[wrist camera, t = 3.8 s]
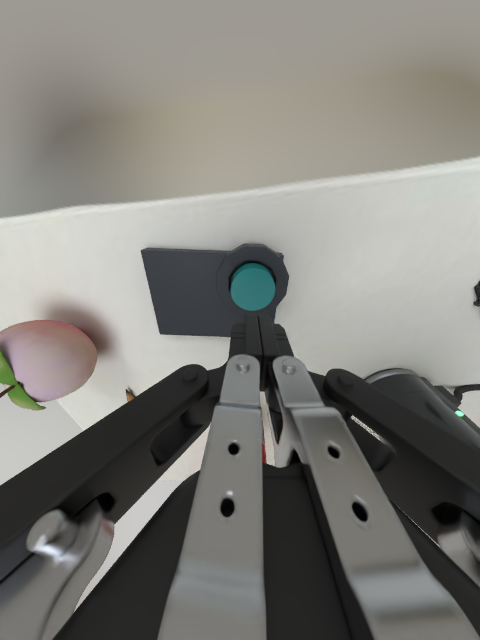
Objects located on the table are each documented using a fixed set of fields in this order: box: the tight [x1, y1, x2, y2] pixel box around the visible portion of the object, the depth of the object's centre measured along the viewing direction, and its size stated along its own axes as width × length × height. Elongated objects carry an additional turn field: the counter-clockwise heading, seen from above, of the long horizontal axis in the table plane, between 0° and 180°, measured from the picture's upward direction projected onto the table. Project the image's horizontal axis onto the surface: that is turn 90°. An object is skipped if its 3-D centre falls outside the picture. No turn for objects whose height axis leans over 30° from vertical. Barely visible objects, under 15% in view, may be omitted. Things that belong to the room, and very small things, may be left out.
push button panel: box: [141, 244, 289, 337], centre depth 20 cm, size 14×11×3 cm
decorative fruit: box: [0, 320, 97, 410], centre depth 20 cm, size 9×8×10 cm
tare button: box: [231, 263, 275, 311], centre depth 17 cm, size 4×4×2 cm
